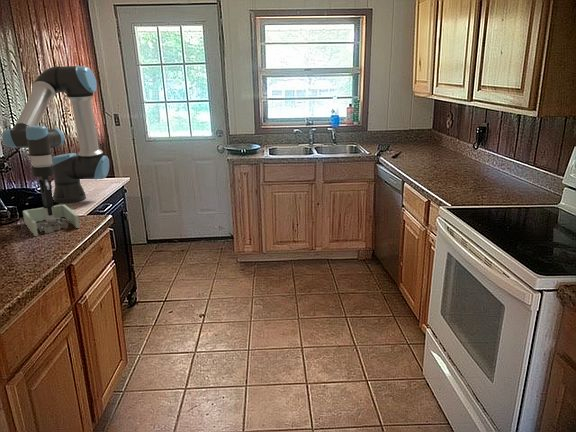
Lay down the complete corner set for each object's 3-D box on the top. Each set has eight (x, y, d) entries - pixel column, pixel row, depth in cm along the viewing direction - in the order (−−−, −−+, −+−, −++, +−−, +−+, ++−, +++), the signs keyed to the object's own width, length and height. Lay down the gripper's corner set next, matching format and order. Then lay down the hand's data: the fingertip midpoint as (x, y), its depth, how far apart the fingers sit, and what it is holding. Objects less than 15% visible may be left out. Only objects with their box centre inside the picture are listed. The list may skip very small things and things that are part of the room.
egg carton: (47, 234, 175) (45, 224, 174) (36, 231, 179) (34, 221, 178) (72, 227, 184) (70, 217, 182) (61, 224, 187) (59, 215, 186)
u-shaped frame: (24, 223, 189) (22, 210, 188) (66, 216, 199) (64, 204, 198) (34, 236, 172) (32, 222, 171) (79, 228, 182) (78, 215, 180)
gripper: (28, 164, 181) (37, 220, 187) (34, 168, 171) (43, 227, 177) (49, 162, 185) (57, 217, 192) (55, 166, 175) (64, 224, 182)
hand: (50, 222), depth 185 cm, fingers closed
